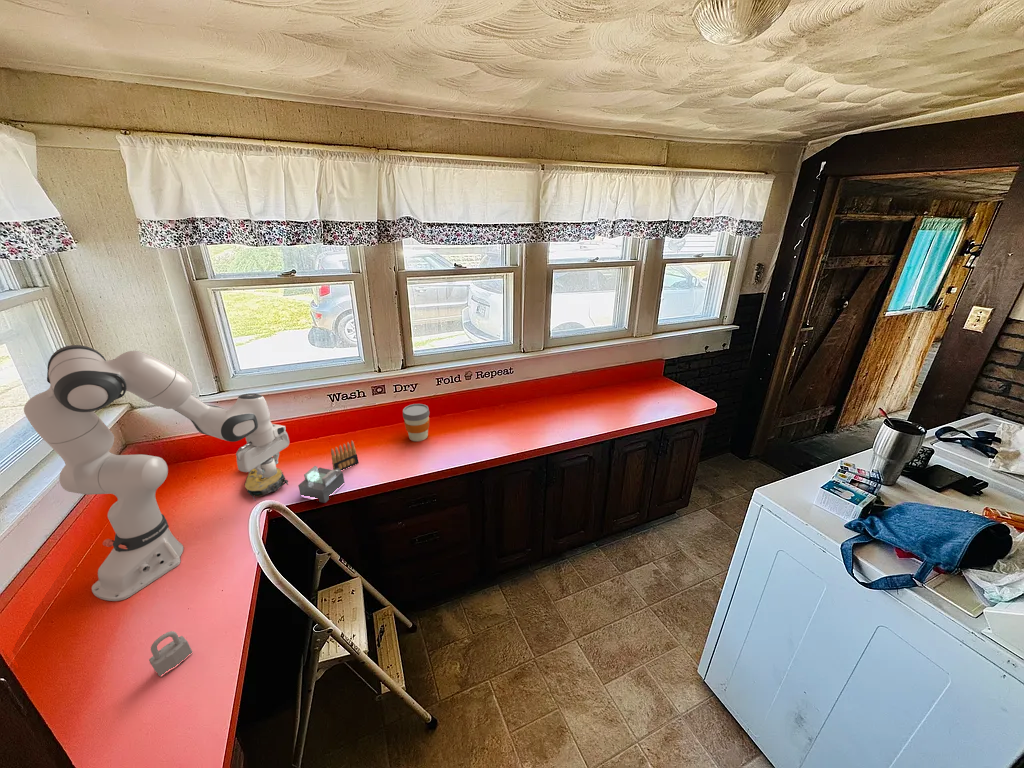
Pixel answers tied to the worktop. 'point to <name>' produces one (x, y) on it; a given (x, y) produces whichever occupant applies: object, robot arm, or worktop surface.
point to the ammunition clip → (344, 457)
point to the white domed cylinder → (269, 468)
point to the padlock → (169, 652)
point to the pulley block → (263, 483)
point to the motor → (321, 483)
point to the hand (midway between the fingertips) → (268, 468)
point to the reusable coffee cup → (416, 421)
